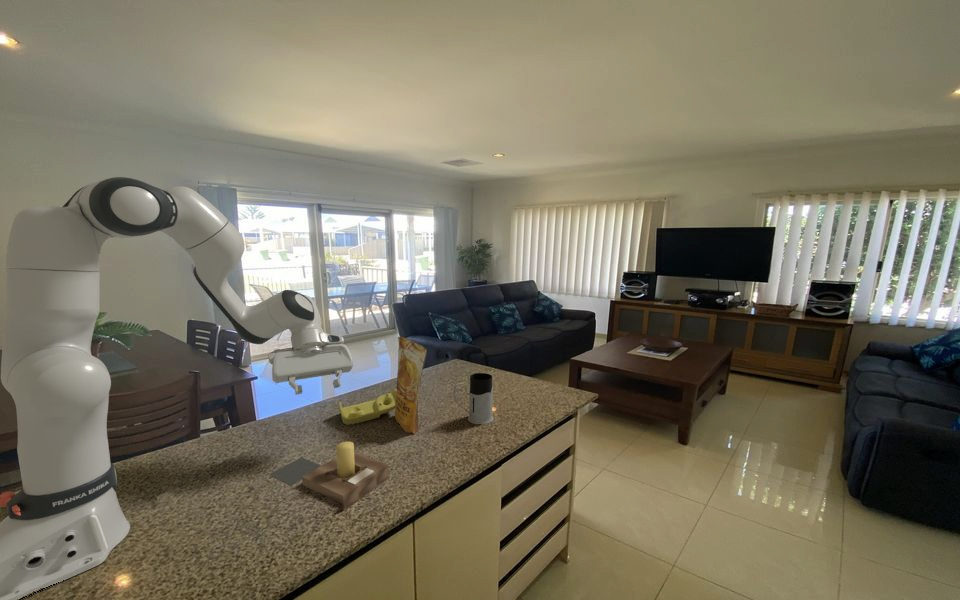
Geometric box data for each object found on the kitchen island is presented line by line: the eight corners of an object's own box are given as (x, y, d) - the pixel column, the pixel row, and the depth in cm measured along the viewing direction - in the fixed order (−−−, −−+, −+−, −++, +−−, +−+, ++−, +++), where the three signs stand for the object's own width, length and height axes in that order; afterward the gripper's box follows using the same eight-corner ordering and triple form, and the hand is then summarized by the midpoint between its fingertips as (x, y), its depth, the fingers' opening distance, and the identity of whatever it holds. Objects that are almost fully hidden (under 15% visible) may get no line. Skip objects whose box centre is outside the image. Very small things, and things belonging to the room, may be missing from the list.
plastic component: (343, 421, 121) (338, 398, 128) (344, 435, 125) (339, 413, 132) (403, 405, 130) (395, 385, 137) (402, 419, 134) (394, 399, 141)
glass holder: (498, 421, 126) (498, 378, 124) (458, 429, 120) (459, 384, 118) (486, 411, 134) (486, 371, 132) (449, 418, 128) (449, 376, 126)
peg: (345, 491, 89) (344, 451, 88) (334, 486, 91) (332, 447, 90) (358, 482, 92) (357, 444, 91) (347, 477, 94) (345, 440, 93)
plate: (291, 491, 89) (291, 485, 88) (268, 480, 93) (268, 474, 93) (324, 472, 96) (323, 466, 96) (301, 462, 101) (301, 457, 101)
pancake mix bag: (408, 410, 134) (407, 334, 131) (429, 433, 118) (428, 346, 114) (389, 414, 131) (388, 336, 127) (408, 438, 115) (407, 348, 111)
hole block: (344, 510, 82) (343, 495, 82) (302, 490, 89) (302, 476, 89) (388, 477, 94) (388, 464, 94) (349, 462, 101) (349, 449, 101)
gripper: (268, 344, 97) (274, 391, 90) (348, 335, 109) (359, 377, 102) (266, 356, 101) (273, 403, 95) (344, 347, 113) (354, 388, 106)
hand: (318, 389), depth 98 cm, fingers open, 8 cm apart
